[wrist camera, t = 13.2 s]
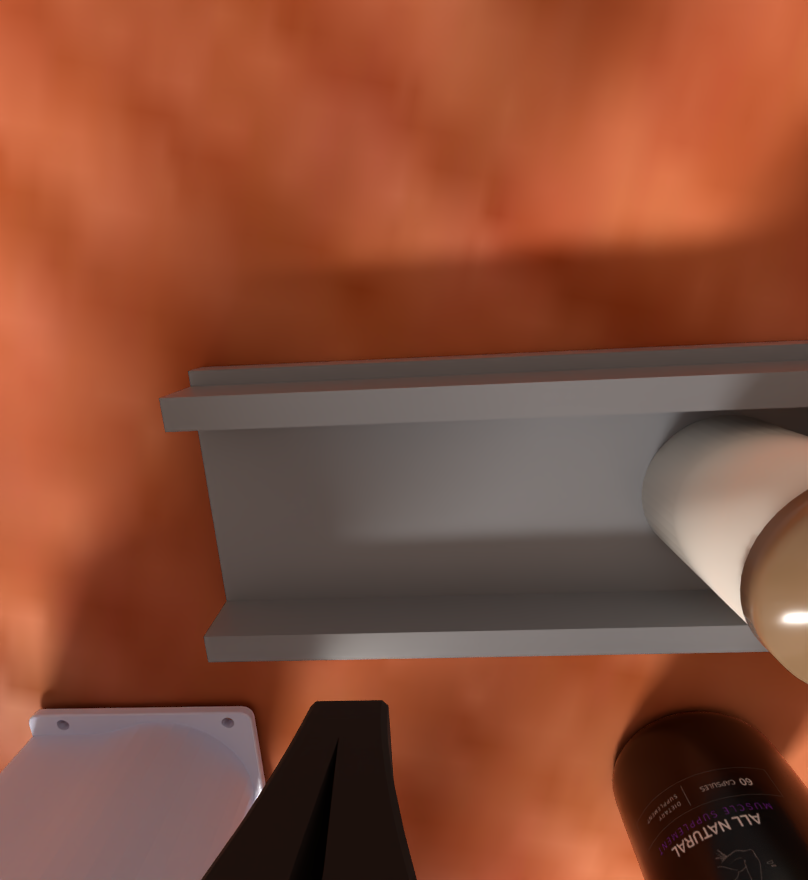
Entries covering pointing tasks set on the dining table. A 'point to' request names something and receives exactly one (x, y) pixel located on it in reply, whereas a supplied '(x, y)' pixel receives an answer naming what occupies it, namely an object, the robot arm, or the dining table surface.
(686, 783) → the supplement bottle
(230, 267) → the dining table surface
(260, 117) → the dining table surface
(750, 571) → the jar
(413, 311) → the dining table surface
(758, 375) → the lane tray
